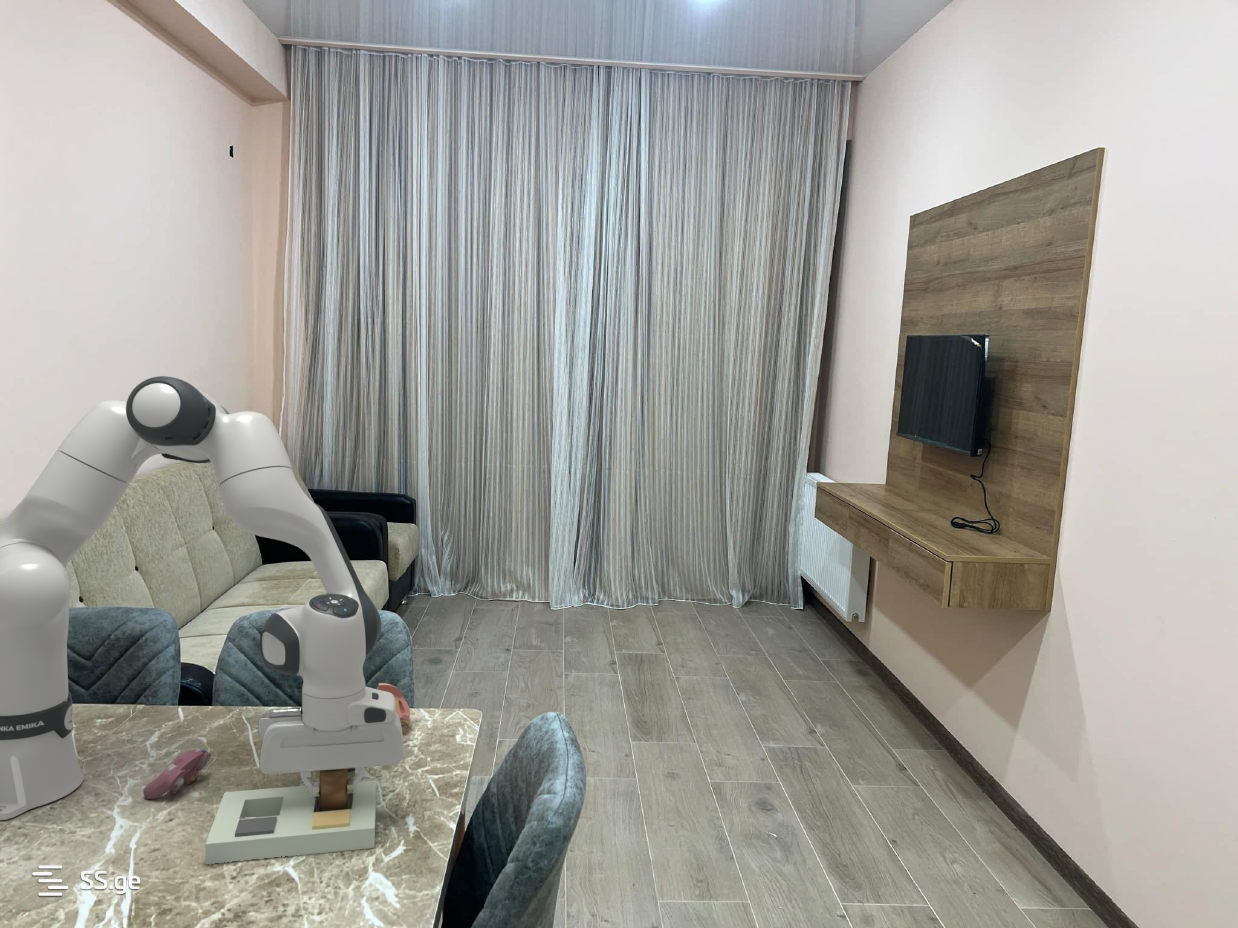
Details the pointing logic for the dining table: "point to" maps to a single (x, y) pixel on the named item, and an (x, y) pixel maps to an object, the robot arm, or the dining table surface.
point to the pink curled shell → (397, 702)
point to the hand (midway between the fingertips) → (333, 794)
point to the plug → (333, 790)
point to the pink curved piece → (178, 773)
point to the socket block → (289, 824)
